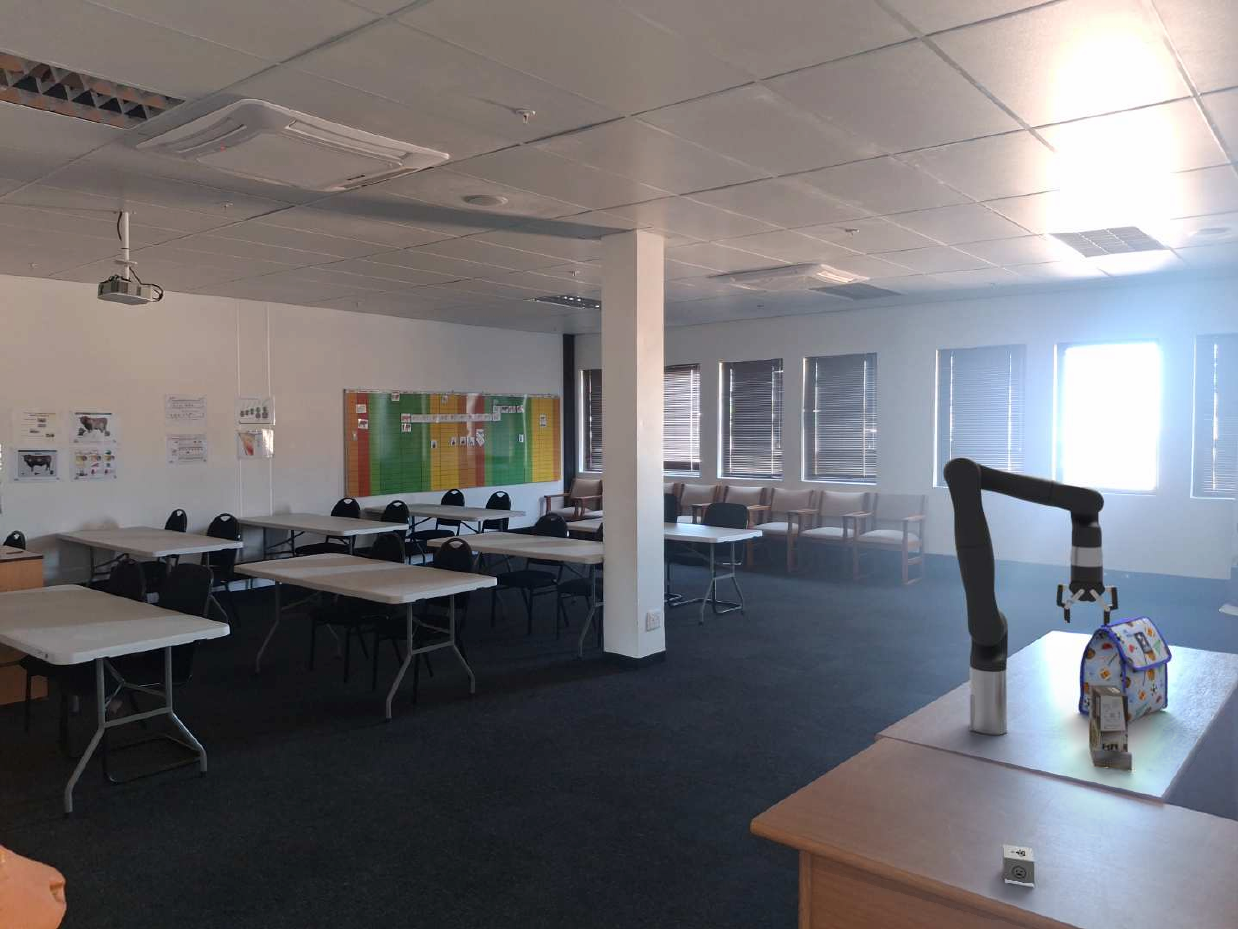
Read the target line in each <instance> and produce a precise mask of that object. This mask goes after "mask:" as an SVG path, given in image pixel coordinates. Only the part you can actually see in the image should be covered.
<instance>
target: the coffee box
mask: <svg viewBox="0 0 1238 929" xmlns="http://www.w3.org/2000/svg"><path fill="white" fill-rule="evenodd" d="M1089 704H1090V747H1091V748H1092V749H1093V748H1097V749H1106V750H1115V751H1123V752H1129V722H1128V696H1127V695H1126V694H1125V693H1124V692H1123V691H1121V690H1120V689H1119V688H1118V687H1117V686H1113V685H1089ZM1090 747H1089V748H1090Z"/></svg>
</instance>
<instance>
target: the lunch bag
mask: <svg viewBox="0 0 1238 929" xmlns="http://www.w3.org/2000/svg"><path fill="white" fill-rule="evenodd" d="M1172 658H1173V655H1172V653H1171V649H1170V647H1169V645H1168V644H1167V642H1166V640H1165V639H1164V637H1163V635H1162V634H1161V632H1160V631H1159V629H1158V627H1157V626H1156V625H1155V623H1154V621H1153V620H1152V619H1151V618H1150V617H1149V616H1146V615H1140V616H1139V615H1138V616H1135V617H1126V618H1121V619H1118V620H1115V621H1114V622H1112V623H1109V624H1107V626H1104V625H1103V624H1101V625H1100V627H1099V628H1097V629H1096V630H1094V631H1093V634H1092V636H1091V638H1089V641H1088V642H1087V643H1086V645H1085V648H1084V650H1083V653H1082V656H1081V660H1080V666H1079V690H1080V692H1079V698H1078V711H1079V713H1081V714H1083V715H1086V716H1089V708H1090V704H1089V685H1113V686H1117V687H1118V688H1119V689H1120V690H1121V691H1123V692H1124V693H1125V694H1126V695H1127V696H1128V723H1130V722H1132V721H1134V720H1136V719H1139V718H1142V717H1144V716H1146V715H1148V714H1152V713H1154V712H1157V711H1160V710H1166V709H1167V707H1168V706H1169V705H1168V702H1169V700H1168V694H1169V692H1168V688H1169V686H1168V685H1169V682H1168V681H1169V678H1168V677H1169V676H1168V675H1169V672H1168V663H1169V662H1171V660H1172Z"/></svg>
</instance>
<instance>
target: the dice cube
mask: <svg viewBox="0 0 1238 929" xmlns="http://www.w3.org/2000/svg"><path fill="white" fill-rule="evenodd" d="M1003 871H1004V875H1003V880H1004V879H1007V880H1012V881H1018V882H1022V883H1033V884H1034V885H1035V858H1034V853H1033V848H1031V847H1026V846H1025V847H1024V846H1018V845H1017V846H1016V845H1009V844H1002V872H1003Z"/></svg>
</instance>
